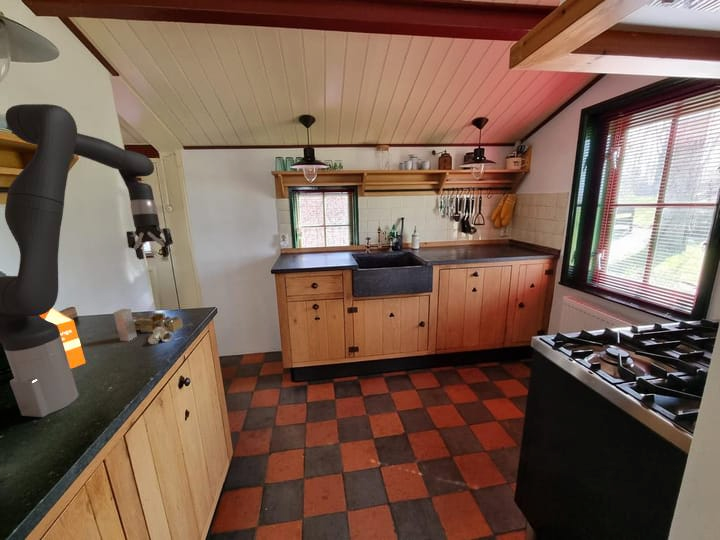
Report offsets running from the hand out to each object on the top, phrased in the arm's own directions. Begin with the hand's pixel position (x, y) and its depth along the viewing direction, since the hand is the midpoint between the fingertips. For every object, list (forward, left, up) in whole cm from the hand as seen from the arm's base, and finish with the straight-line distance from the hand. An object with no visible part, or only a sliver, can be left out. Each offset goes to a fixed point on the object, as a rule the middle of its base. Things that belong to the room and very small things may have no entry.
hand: (153, 258), depth 110 cm
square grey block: (-9, +8, -28) cm, 31 cm away
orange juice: (-27, +13, -29) cm, 42 cm away
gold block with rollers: (0, +6, -28) cm, 29 cm away
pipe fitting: (-9, -4, -29) cm, 30 cm away
